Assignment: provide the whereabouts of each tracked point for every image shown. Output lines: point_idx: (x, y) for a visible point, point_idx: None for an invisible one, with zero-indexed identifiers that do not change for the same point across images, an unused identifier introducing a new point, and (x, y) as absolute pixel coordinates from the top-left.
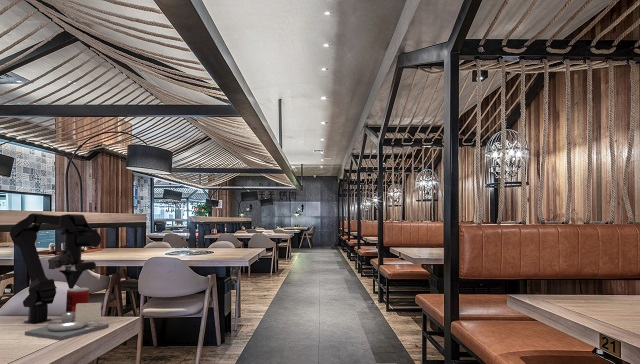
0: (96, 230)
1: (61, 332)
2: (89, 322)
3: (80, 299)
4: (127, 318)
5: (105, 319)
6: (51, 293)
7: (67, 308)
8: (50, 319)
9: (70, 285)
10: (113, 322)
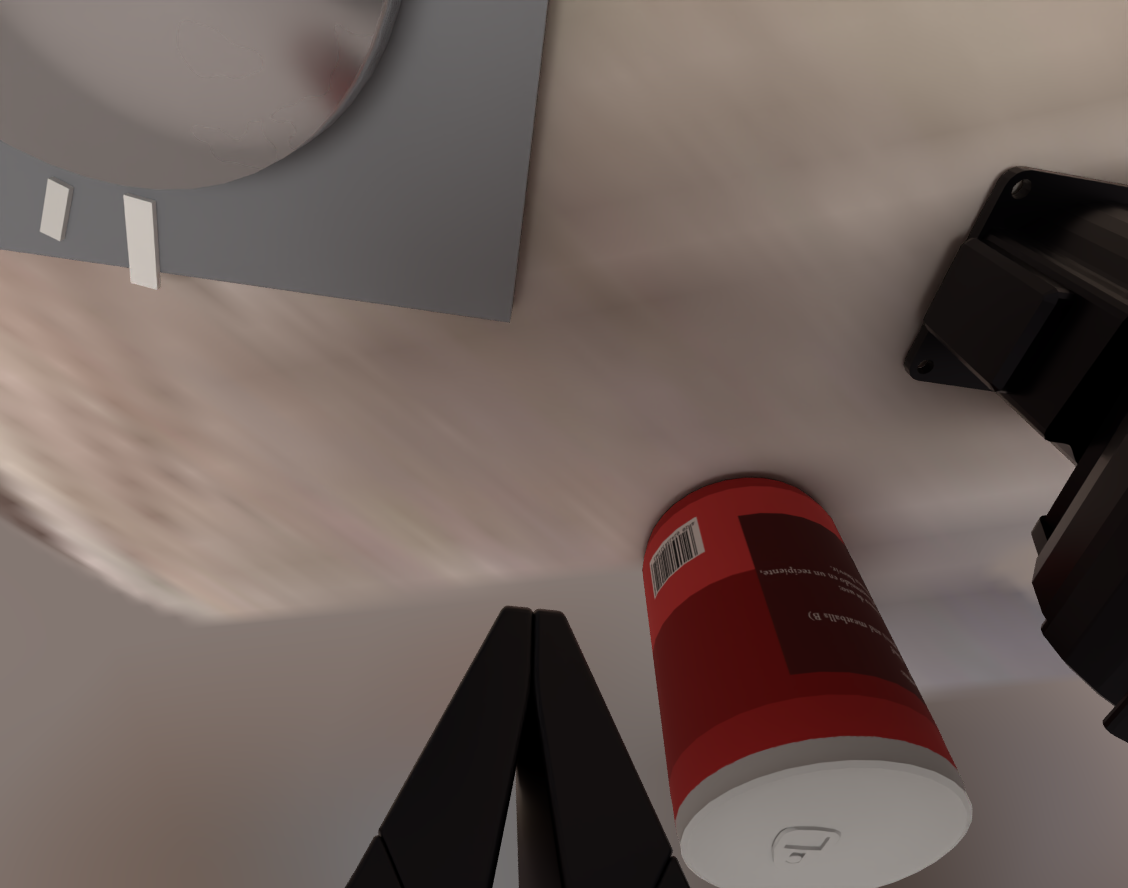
0: None
1: None
2: (149, 229)
3: (686, 672)
4: (179, 568)
5: (342, 508)
6: (1106, 570)
7: (812, 548)
8: (908, 367)
9: (482, 667)
10: (127, 426)
